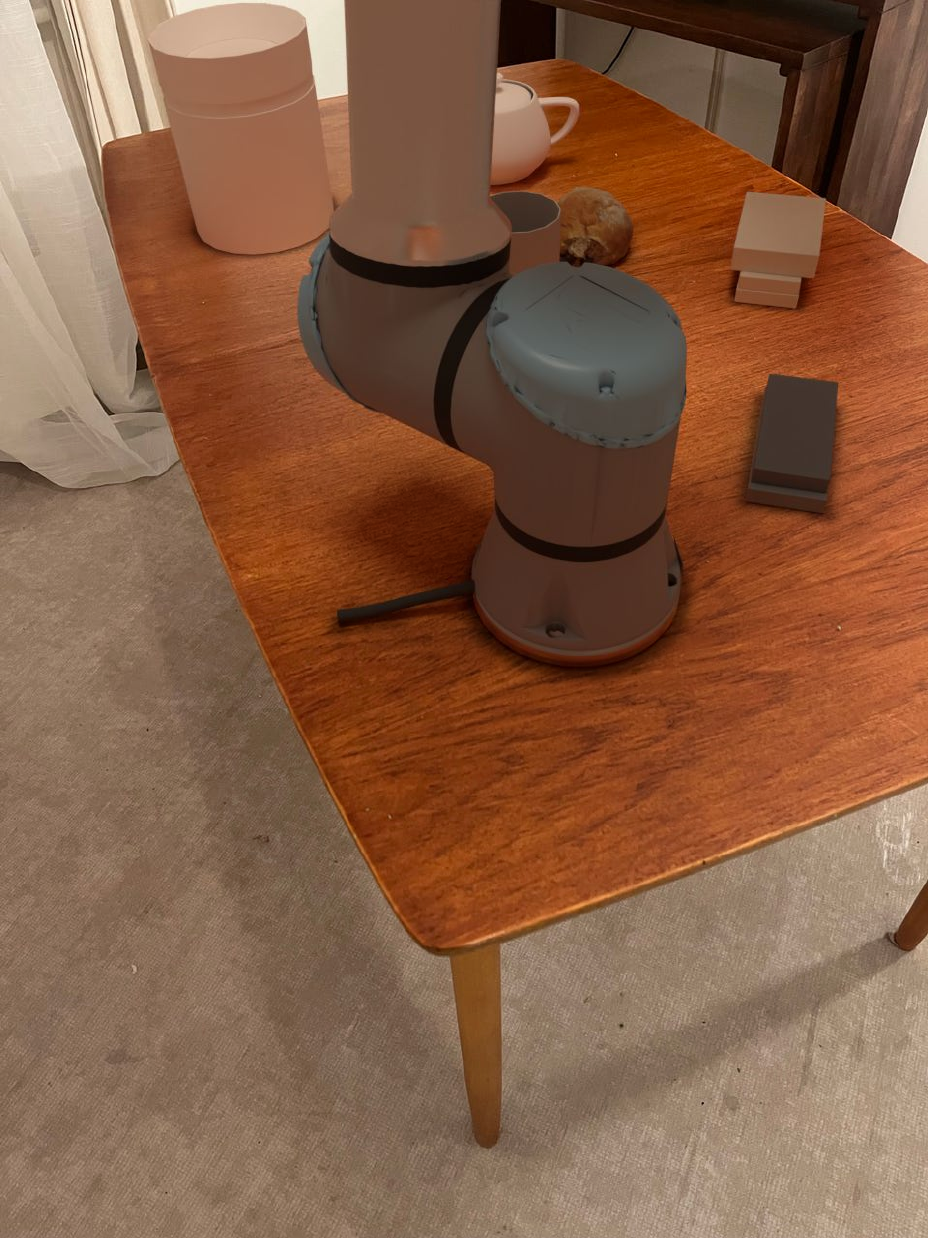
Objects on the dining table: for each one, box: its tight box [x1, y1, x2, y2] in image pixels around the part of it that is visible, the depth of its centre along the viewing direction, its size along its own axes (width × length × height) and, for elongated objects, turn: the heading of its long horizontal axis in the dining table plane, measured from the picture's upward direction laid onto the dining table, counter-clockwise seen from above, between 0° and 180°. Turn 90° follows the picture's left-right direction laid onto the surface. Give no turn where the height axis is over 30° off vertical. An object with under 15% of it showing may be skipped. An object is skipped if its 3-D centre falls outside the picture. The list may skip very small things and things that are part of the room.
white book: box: [729, 191, 827, 279], centre depth 99 cm, size 12×8×2 cm, turn 163°
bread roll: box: [556, 186, 634, 268], centre depth 105 cm, size 10×10×8 cm
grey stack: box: [745, 373, 839, 514], centre depth 81 cm, size 14×6×3 cm, turn 163°
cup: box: [490, 190, 561, 276], centre depth 96 cm, size 8×8×10 cm
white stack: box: [734, 271, 803, 309], centre depth 101 cm, size 14×6×3 cm, turn 163°
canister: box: [147, 2, 335, 256], centre depth 107 cm, size 16×16×20 cm
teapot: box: [491, 72, 580, 186], centre depth 116 cm, size 22×14×11 cm, turn 95°
